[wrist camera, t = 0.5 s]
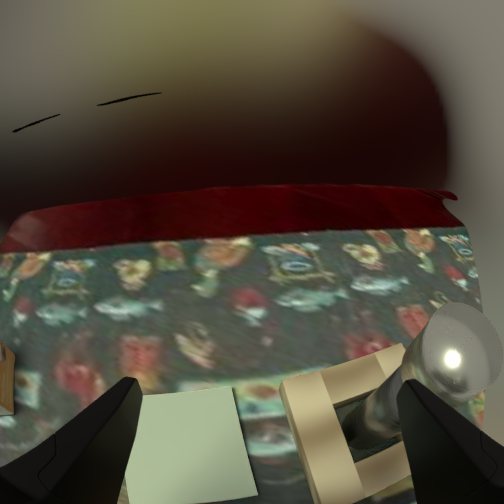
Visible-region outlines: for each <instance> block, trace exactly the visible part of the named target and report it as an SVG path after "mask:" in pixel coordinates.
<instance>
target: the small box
mask: <svg viewBox="0 0 504 504" xmlns="http://www.w3.org/2000/svg"><path fill="white" fill-rule="evenodd" d="M14 363H15V355H14V353H13V352H12V351H11V350H10V349H9V348H8V347H7V346H6V345H5V344H4V343H3V342H2V341H1V340H0V415H13V414H14V403H13V380H14Z"/></svg>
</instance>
